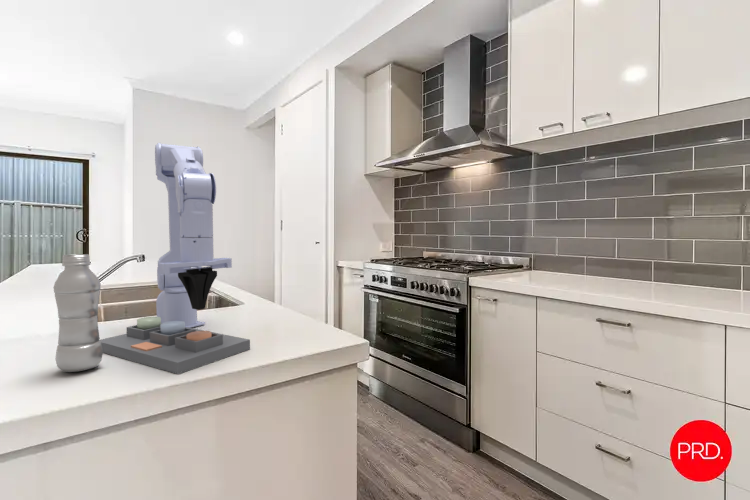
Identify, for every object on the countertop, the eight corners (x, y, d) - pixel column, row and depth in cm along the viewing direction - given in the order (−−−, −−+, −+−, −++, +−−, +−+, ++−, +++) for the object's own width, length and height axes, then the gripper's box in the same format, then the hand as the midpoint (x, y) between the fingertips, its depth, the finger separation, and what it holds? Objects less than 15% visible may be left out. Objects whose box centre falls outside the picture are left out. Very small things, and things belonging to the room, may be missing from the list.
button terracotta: (181, 345, 76) (181, 334, 76) (201, 339, 80) (201, 329, 80) (196, 348, 74) (196, 338, 74) (216, 342, 78) (216, 332, 78)
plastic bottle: (72, 364, 73) (67, 253, 72) (111, 363, 73) (107, 253, 72) (46, 377, 66) (40, 256, 65) (89, 376, 67) (84, 256, 66)
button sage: (132, 329, 84) (132, 319, 84) (153, 324, 88) (152, 315, 88) (145, 331, 82) (144, 322, 82) (165, 327, 86) (165, 318, 86)
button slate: (155, 334, 80) (155, 324, 80) (176, 329, 84) (175, 319, 84) (169, 337, 78) (169, 327, 78) (189, 332, 82) (189, 322, 82)
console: (95, 350, 81) (95, 331, 80) (170, 332, 95) (169, 315, 94) (177, 374, 68) (177, 351, 68) (250, 349, 82) (249, 330, 82)
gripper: (174, 238, 68) (176, 318, 69) (241, 236, 80) (242, 304, 81) (149, 237, 71) (151, 314, 72) (217, 236, 84) (219, 301, 85)
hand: (198, 308), depth 77 cm, fingers closed
